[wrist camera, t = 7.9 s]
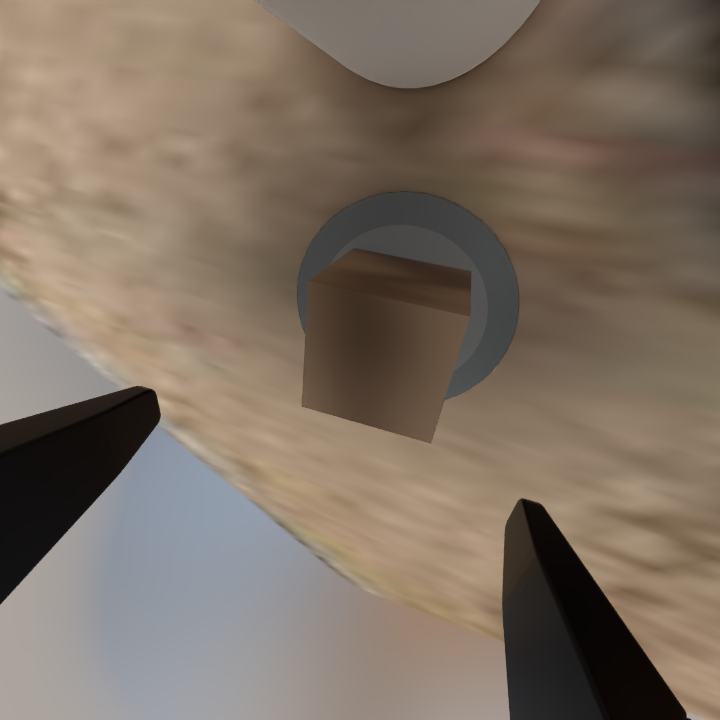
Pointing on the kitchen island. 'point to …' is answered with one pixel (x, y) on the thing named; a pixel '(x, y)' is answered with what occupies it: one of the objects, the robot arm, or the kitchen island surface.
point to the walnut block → (384, 340)
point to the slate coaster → (437, 246)
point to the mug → (405, 34)
